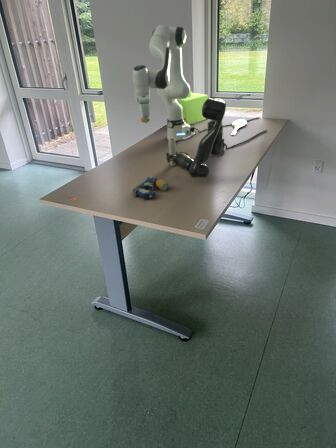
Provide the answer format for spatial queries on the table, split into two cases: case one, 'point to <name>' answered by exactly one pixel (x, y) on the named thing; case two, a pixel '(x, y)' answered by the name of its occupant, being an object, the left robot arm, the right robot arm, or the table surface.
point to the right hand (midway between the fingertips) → (170, 153)
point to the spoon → (238, 125)
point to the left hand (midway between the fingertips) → (145, 121)
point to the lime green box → (193, 107)
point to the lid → (143, 119)
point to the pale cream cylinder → (172, 149)
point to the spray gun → (149, 187)
